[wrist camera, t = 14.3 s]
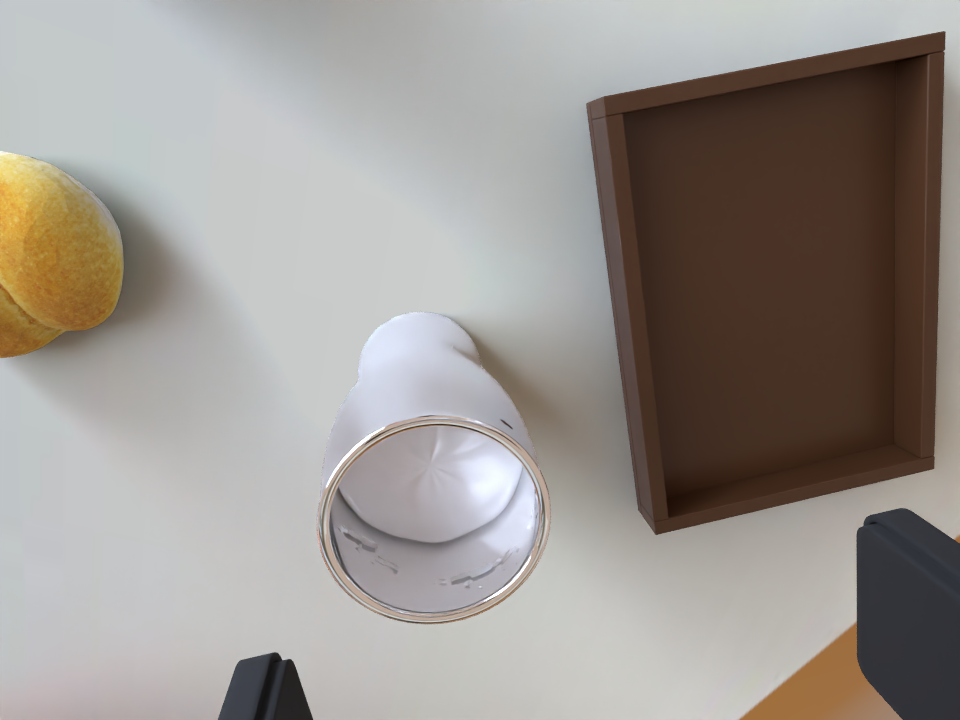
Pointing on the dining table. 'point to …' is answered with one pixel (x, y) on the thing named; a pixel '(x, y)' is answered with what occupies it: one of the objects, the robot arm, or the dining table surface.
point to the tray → (775, 276)
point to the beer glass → (429, 480)
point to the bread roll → (52, 255)
